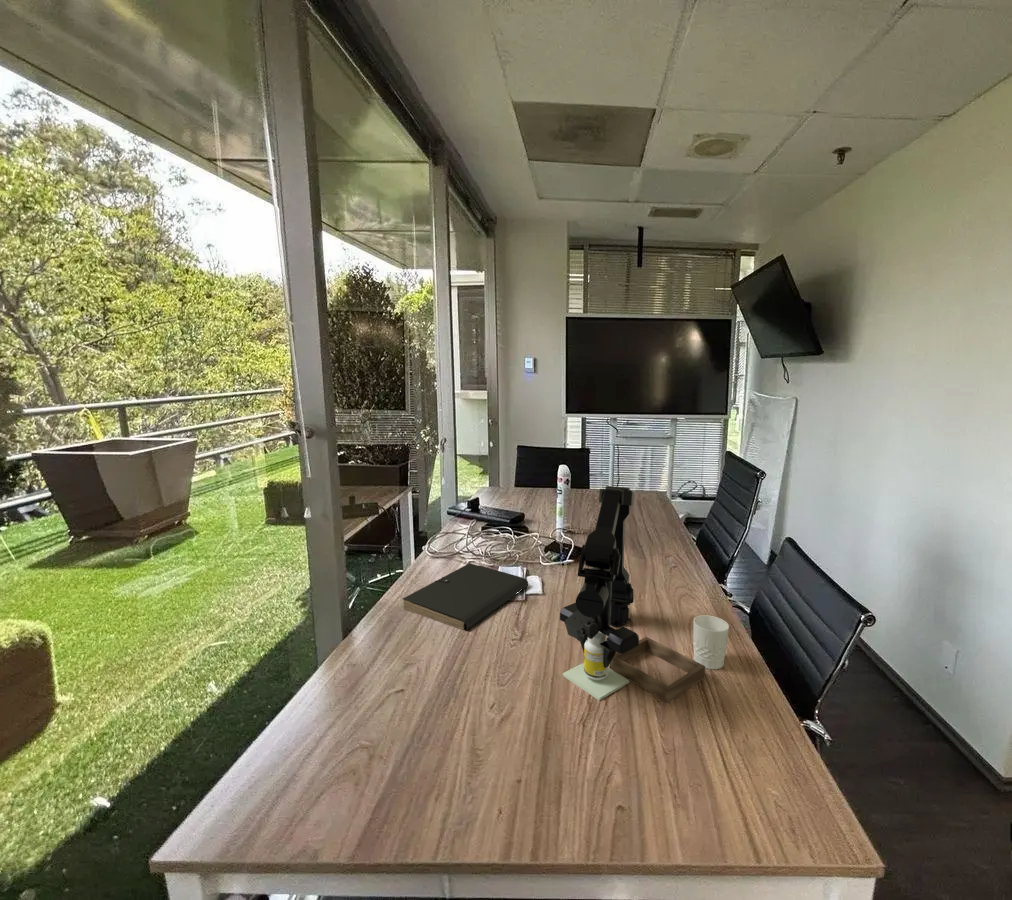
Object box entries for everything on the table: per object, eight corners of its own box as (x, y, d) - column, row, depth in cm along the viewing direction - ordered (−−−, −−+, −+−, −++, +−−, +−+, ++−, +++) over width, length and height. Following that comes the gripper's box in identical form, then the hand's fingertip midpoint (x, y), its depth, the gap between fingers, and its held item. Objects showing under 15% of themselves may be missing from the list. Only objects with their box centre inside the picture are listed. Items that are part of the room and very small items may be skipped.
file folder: (469, 561, 171) (528, 578, 158) (469, 573, 171) (528, 590, 158) (401, 597, 143) (467, 620, 130) (402, 610, 144) (467, 634, 131)
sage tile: (562, 675, 112) (562, 673, 112) (592, 660, 118) (592, 658, 118) (599, 700, 103) (599, 698, 103) (629, 682, 109) (629, 680, 109)
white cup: (705, 673, 113) (707, 633, 111) (684, 655, 120) (686, 617, 119) (733, 668, 115) (736, 628, 113) (711, 650, 122) (713, 613, 121)
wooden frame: (609, 667, 115) (609, 655, 114) (645, 647, 123) (646, 636, 123) (668, 703, 102) (669, 690, 102) (704, 678, 111) (705, 666, 110)
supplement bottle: (591, 663, 114) (592, 624, 112) (612, 672, 111) (613, 632, 109) (579, 674, 110) (580, 634, 108) (600, 684, 106) (601, 642, 105)
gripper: (542, 591, 110) (542, 655, 112) (606, 624, 95) (604, 696, 98) (577, 578, 117) (575, 639, 119) (642, 608, 102) (638, 676, 104)
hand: (596, 661), depth 110 cm, fingers closed on supplement bottle, 5 cm apart
